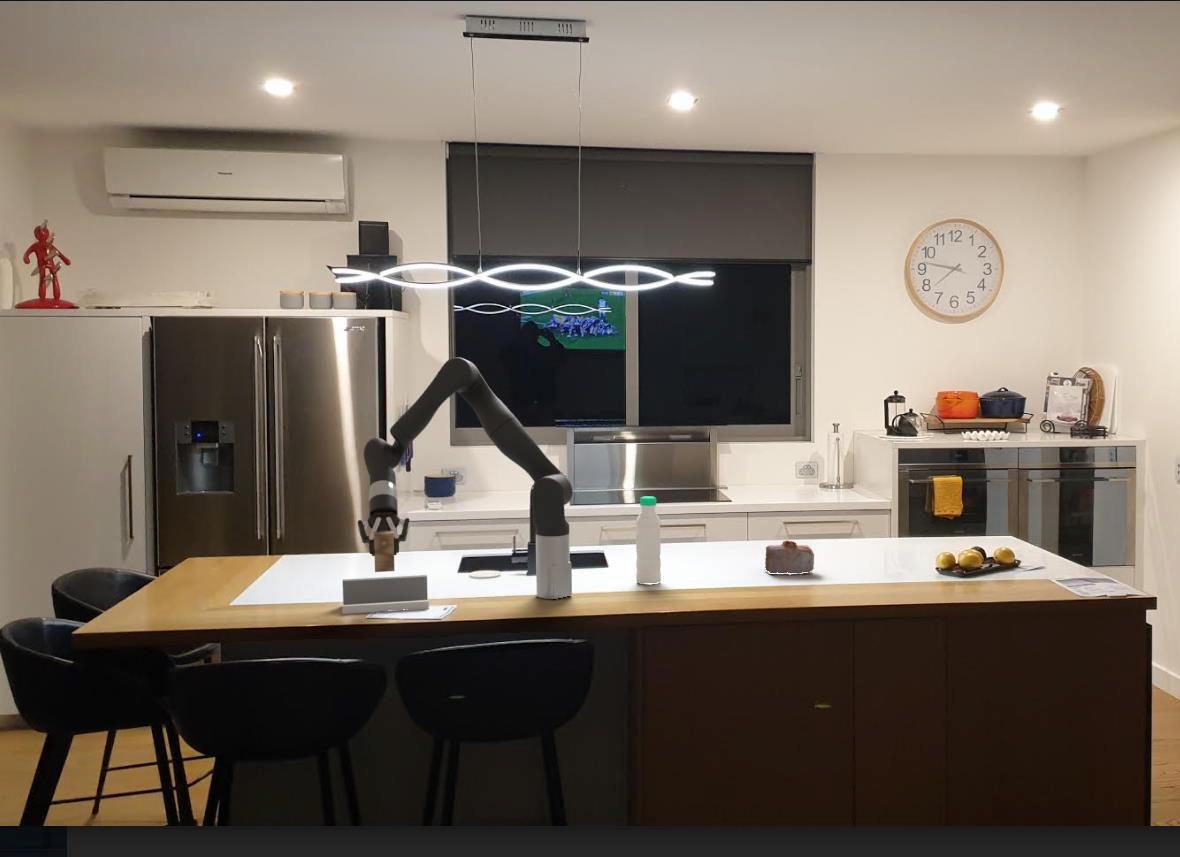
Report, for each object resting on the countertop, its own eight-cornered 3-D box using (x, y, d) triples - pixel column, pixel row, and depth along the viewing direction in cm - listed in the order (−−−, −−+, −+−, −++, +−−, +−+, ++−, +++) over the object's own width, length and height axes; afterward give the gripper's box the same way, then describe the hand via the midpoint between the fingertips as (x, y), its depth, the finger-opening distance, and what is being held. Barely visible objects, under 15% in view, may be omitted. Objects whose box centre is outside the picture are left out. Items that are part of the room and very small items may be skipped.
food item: (807, 569, 301) (807, 537, 300) (815, 575, 293) (815, 542, 293) (763, 570, 300) (763, 538, 299) (770, 576, 292) (770, 543, 292)
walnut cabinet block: (394, 567, 262) (393, 530, 261) (394, 571, 257) (393, 533, 257) (375, 568, 261) (374, 531, 260) (374, 572, 256) (373, 534, 256)
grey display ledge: (427, 600, 268) (426, 574, 268) (428, 608, 259) (428, 582, 259) (343, 605, 264) (342, 579, 263) (342, 614, 255) (341, 587, 254)
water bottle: (659, 579, 290) (659, 495, 288) (662, 585, 283) (661, 498, 281) (635, 580, 289) (634, 495, 287) (637, 585, 282) (636, 499, 280)
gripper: (355, 493, 264) (355, 547, 253) (410, 492, 267) (412, 544, 256) (356, 510, 270) (356, 563, 259) (410, 508, 273) (412, 560, 262)
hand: (384, 553), depth 258 cm, fingers closed on walnut cabinet block, 5 cm apart
